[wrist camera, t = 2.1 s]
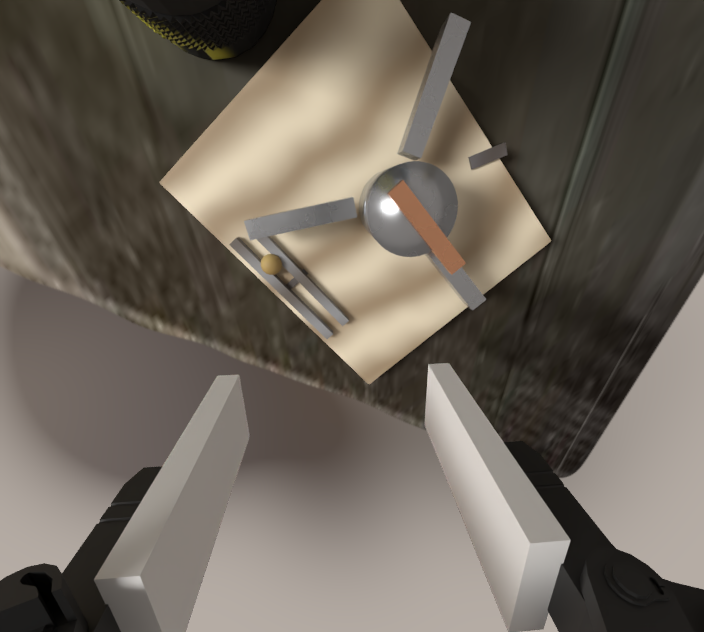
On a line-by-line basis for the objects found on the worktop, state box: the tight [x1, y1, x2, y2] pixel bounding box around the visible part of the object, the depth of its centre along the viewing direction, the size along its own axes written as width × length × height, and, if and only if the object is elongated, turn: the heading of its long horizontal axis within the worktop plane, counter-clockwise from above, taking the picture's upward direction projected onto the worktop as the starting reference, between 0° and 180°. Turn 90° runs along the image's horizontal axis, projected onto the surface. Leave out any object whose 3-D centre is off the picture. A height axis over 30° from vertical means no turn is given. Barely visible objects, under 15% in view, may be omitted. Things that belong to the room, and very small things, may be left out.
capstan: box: [244, 13, 486, 310], centre depth 25 cm, size 17×20×7 cm
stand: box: [159, 0, 551, 384], centre depth 28 cm, size 26×23×4 cm
